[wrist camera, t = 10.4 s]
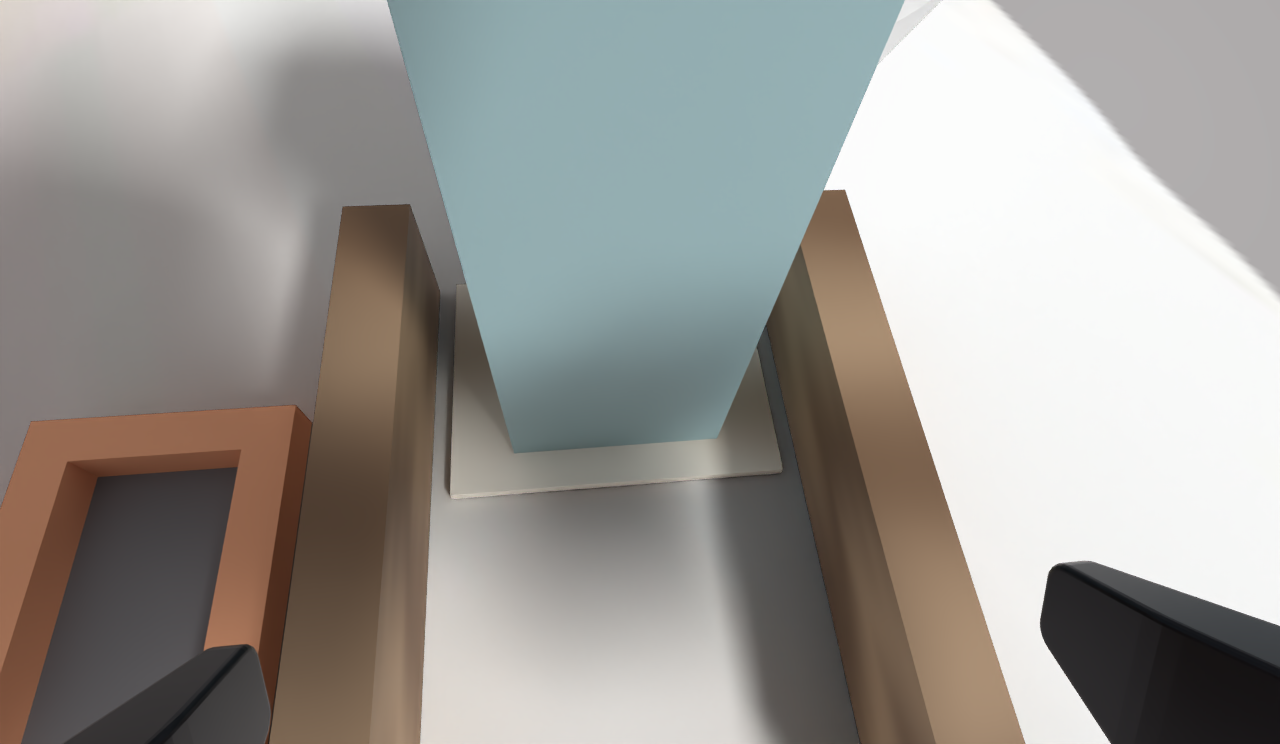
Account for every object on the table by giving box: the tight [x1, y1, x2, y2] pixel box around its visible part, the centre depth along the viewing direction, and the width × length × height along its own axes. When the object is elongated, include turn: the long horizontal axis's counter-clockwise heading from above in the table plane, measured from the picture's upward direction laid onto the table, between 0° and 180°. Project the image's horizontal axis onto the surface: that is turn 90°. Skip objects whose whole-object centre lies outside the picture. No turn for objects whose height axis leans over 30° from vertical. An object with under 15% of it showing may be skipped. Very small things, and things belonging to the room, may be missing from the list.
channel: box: [269, 190, 1025, 744], centre depth 14 cm, size 14×12×4 cm
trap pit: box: [0, 405, 313, 744], centre depth 13 cm, size 9×6×2 cm, turn 6°
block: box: [387, 0, 905, 453], centre depth 12 cm, size 5×5×12 cm
